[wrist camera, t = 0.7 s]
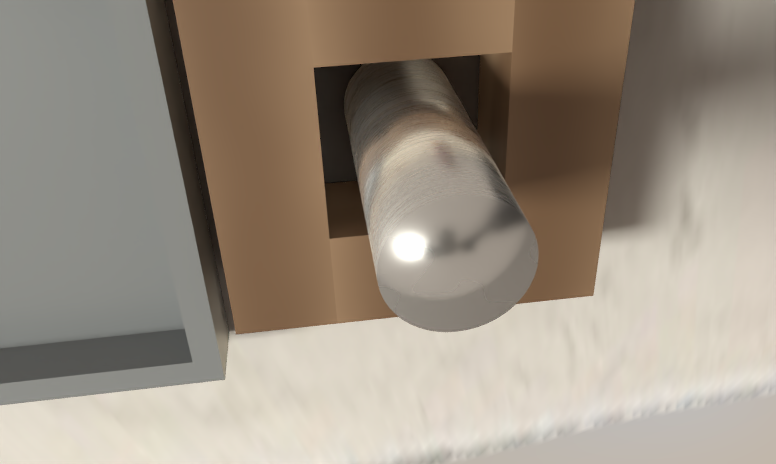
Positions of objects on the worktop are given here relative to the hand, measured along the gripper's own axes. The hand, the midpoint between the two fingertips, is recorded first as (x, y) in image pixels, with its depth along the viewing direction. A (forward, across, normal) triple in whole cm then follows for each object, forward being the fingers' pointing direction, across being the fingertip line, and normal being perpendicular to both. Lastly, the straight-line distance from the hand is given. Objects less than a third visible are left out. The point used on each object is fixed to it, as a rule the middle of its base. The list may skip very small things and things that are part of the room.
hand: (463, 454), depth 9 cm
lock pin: (+13, -1, +1) cm, 13 cm away
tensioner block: (+13, -1, +1) cm, 13 cm away
